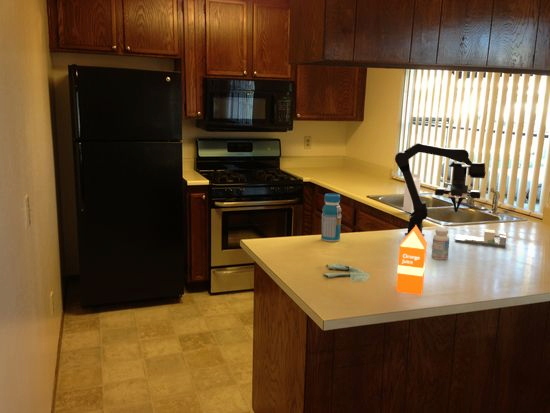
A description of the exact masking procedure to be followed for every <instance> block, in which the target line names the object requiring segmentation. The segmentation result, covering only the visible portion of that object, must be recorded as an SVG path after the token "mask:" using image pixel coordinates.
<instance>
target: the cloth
mask: <svg viewBox="0 0 550 413" xmlns="http://www.w3.org/2000/svg"><path fill="white" fill-rule="evenodd" d="M325 267H327V270H328V271H331V270H332V271H344V272H330V273H329V272H327V273H326V272H325V273H323V276H325V277H326V278H327V279H332V278H342V277H343V278H345V277H349V281H350V282H352V283H357V282H360V283H365V282H367V281H368V280H370V279H371V275H370V274H369V273H367V272H365V271H363V270H362V269H360V268H358V267H353V266H350V265H347V264H345V263H340V262H339V263H338V262H334V263H333V264H331V265H330V264H326V265H325Z"/></svg>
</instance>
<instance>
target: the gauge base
mask: <svg viewBox="0 0 550 413" xmlns="http://www.w3.org/2000/svg"><path fill="white" fill-rule="evenodd" d="M499 235H500V238H494V239H495V241H490V240H484V236H483V237H482V236H475V235H466V234H465V235H464V234H459V233H457V234H456V235H455V236H456V237H455V239H454V242H455V243H460V244H461V243H462V244H469V245H478V246H486V247H495V248H502V249H506V245H507V244H506V243H507V232H502V231H499Z"/></svg>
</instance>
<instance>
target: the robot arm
mask: <svg viewBox="0 0 550 413" xmlns="http://www.w3.org/2000/svg"><path fill="white" fill-rule="evenodd" d="M419 153H421V154H427V155H433V156H440V157H443V158H448V159H449V160H452V161H451V162H450V163H449V164H448V166H449V167H450V168H452V175H451V185H450V189H446V187H437V188H436V189H435V191H434V196H443V195H448V197H447V198H448V199H450V200H451V202H452V206H453V210H454V212H455V213H458V210H459V208H460V206H461V204H462V202H463V200H466V199H467V197H470V198H472V199H479V200H480V199H481V195H482V193H481V190H476V189H475V190H474V189H473V190H472V189H471V190H470V191H469V185H466V181H467V176H469V177H470V179H485V176H486V163H485V162H472V160H471V159H470V158H469V157H470V156H469V155H470V154H469V151H468V150H466V149H464V148H463V147H462V148H461V147H459V148H457V147H456V148H455V147H453V148H452V147H451V148H448V147H447V148H446V147H441V146H437V145H436V146H435V145H429V144H425V143H421V142H417V143H414V145H412V146H410V147H408V148H407V149H406V150H404V151H398V152H397V153H396V154H395V156H394V162H395V163H396V165H397V167H398V168H399V170H400V172H401V173H402V176H403V179H404V183H405V182H406V185H407V188H408V190H409V193H410V196H411V199H412V202H413V209H414V212H413V213H411V214H409V215H408V220H409V221H408V222H407V232H404V235H406V236H407V235H408V234H409V233H410V232H411V230H412V229H413V228H414V227H415V225H416V226H417V227H418V229H419V231H420V232H421V234H422V236H423V237H424V236H425V234H424V233H423V221H424V220H426V219H427V217H428V212H429V208H428V206H427V203H426V200H423V201H422V199H421V197H420V195H419V194H418V191H417V188H416V186H415V183H414V180H413V177H412V174H413V173H412V172H411V168H410V159H411V158H413V157H414V156H416V155H417V154H419ZM463 163H464V164H465V165H463ZM457 197H458V199H457Z"/></svg>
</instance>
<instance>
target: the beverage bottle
mask: <svg viewBox="0 0 550 413" xmlns="http://www.w3.org/2000/svg"><path fill="white" fill-rule="evenodd" d="M339 203H341V195H340V194H339V193H325V194H324V205H323V207H322V209H321V210H322V214H321V236H320V239H321V241H324V242H330V243H334V242H339V241H340V240H341V228H342V226H341V225H342V224H341V222H342V214H341V212H342V208H341V205H340V204H339Z"/></svg>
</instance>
